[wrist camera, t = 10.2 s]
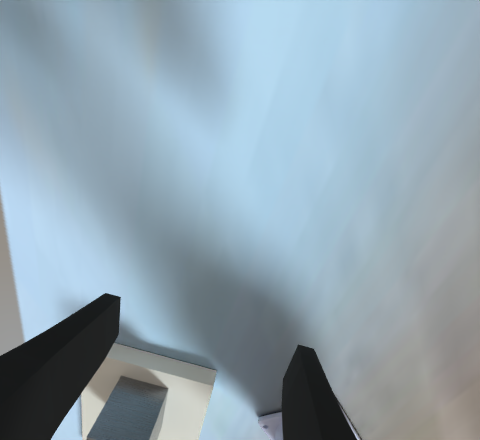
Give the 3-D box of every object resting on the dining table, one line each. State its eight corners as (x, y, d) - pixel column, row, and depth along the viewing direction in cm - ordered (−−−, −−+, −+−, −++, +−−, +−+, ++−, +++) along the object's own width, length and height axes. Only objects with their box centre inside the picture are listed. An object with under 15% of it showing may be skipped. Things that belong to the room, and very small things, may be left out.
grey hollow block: (121, 375, 25) (86, 436, 21) (168, 388, 25) (144, 453, 21) (118, 415, 28) (87, 477, 23) (161, 426, 28) (138, 492, 23)
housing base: (90, 336, 26) (50, 387, 21) (216, 370, 26) (203, 430, 21) (91, 443, 34) (61, 498, 29) (188, 471, 33) (174, 530, 29)
